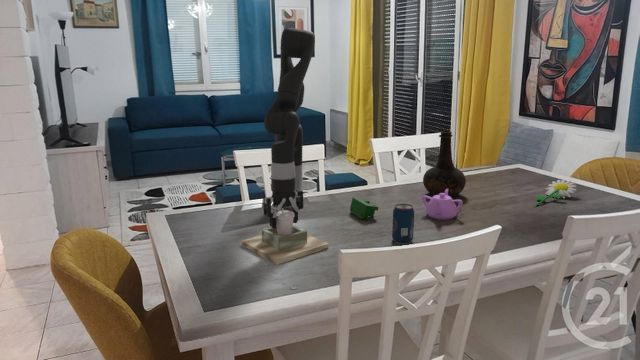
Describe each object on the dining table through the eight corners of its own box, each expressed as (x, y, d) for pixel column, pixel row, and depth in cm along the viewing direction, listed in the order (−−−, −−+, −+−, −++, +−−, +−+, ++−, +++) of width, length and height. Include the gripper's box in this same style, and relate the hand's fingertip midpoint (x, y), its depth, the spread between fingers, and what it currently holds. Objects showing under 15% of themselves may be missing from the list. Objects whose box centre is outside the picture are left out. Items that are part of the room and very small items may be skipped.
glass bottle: (469, 193, 223) (474, 130, 216) (456, 203, 209) (461, 136, 202) (431, 187, 233) (434, 126, 226) (416, 196, 218) (419, 132, 211)
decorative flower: (550, 216, 200) (581, 192, 218) (550, 204, 199) (582, 181, 217) (519, 210, 209) (552, 188, 228) (519, 199, 208) (552, 177, 226)
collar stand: (241, 245, 165) (240, 229, 163) (291, 231, 177) (290, 216, 176) (277, 264, 150) (276, 247, 148) (328, 247, 162) (328, 231, 161)
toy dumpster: (371, 228, 192) (381, 210, 188) (358, 226, 190) (367, 208, 185) (361, 208, 202) (370, 190, 197) (348, 206, 199) (357, 188, 195)
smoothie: (274, 238, 166) (274, 197, 162) (294, 237, 167) (294, 197, 163) (274, 245, 160) (274, 203, 156) (295, 245, 160) (295, 203, 157)
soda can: (390, 236, 172) (392, 203, 169) (411, 237, 171) (413, 203, 168) (393, 244, 165) (394, 209, 162) (414, 244, 165) (416, 209, 162)
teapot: (446, 209, 201) (447, 187, 199) (464, 220, 188) (466, 197, 186) (418, 211, 198) (420, 190, 196) (436, 223, 185) (437, 200, 183)
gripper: (294, 170, 165) (295, 217, 169) (257, 176, 156) (258, 227, 160) (308, 174, 159) (309, 223, 163) (270, 181, 150) (272, 233, 154)
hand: (284, 225), depth 162 cm, fingers open, 7 cm apart
